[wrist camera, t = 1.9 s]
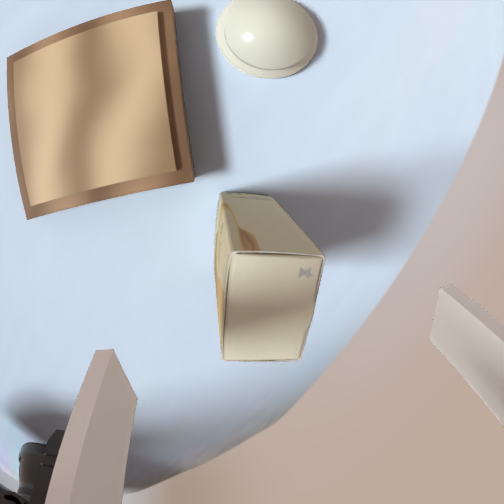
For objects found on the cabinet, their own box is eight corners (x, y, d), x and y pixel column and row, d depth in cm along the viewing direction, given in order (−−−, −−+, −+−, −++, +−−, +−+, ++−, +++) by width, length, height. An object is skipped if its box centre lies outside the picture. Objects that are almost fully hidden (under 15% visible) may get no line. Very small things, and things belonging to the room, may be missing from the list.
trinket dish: (221, 84, 21) (223, 80, 19) (211, -1, 18) (211, -10, 16) (320, 77, 22) (328, 74, 20) (306, -4, 19) (313, -12, 17)
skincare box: (218, 190, 24) (228, 242, 12) (273, 195, 24) (329, 248, 13) (212, 267, 26) (219, 365, 15) (263, 269, 27) (302, 364, 15)
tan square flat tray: (41, 211, 22) (24, 221, 19) (22, 62, 17) (4, 57, 14) (195, 177, 23) (193, 182, 20) (174, 12, 18) (170, -3, 15)
